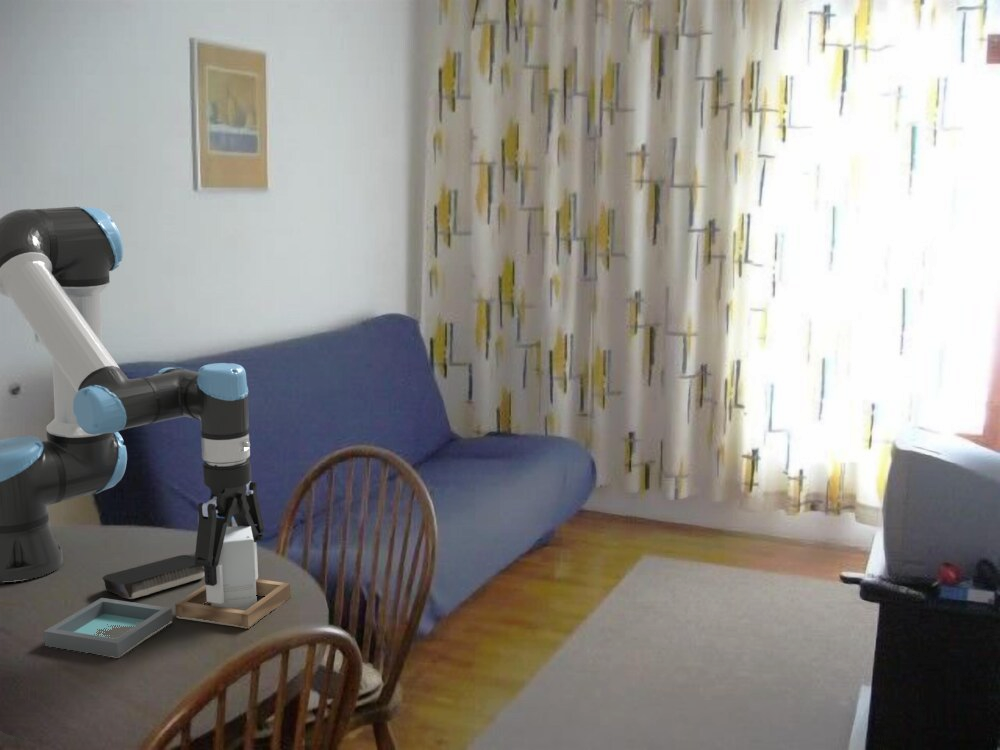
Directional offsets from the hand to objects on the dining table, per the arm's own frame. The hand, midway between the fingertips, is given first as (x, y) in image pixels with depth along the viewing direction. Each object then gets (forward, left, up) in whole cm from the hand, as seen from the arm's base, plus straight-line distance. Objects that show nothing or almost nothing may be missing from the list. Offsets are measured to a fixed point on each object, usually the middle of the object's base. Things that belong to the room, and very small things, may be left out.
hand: (233, 589), depth 178 cm
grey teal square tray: (-13, -15, -3) cm, 20 cm away
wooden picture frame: (0, 0, -3) cm, 3 cm away
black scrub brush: (-18, +4, -4) cm, 19 cm away
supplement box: (0, 0, -3) cm, 3 cm away
